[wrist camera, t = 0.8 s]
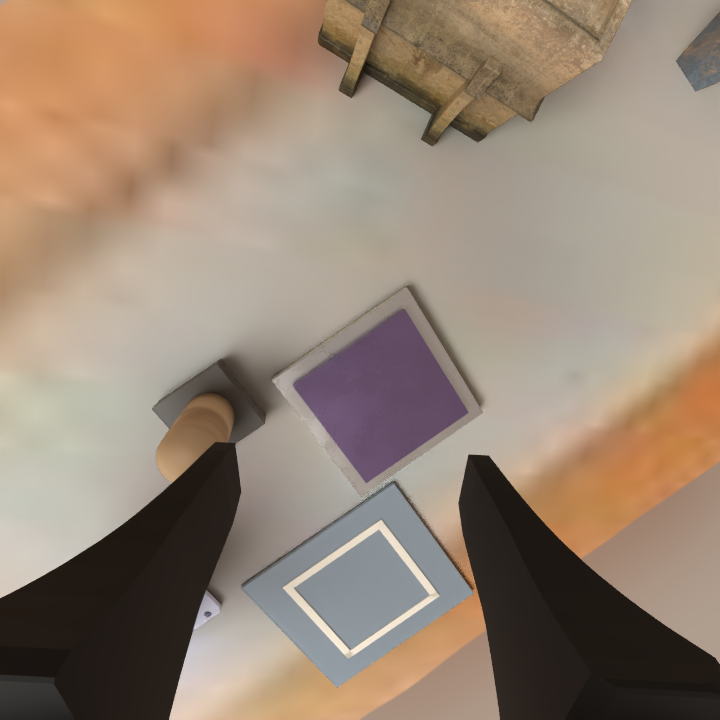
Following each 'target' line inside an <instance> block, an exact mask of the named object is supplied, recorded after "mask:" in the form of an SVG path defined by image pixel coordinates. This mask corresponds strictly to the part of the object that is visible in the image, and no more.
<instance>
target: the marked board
mask: <svg viewBox="0 0 720 720" xmlns="http://www.w3.org/2000/svg"><path fill="white" fill-rule="evenodd" d="M241 589H242V590H243V591H244V592H245V593H246V594H247V595H248V596H249V597H250V598H251V599H252V600H253V601H254V602H255V603H256V604H257V605H258V606H259V607H260V608H261V609H262V610H263V612H264V613H265V614H266V615H267V616H268V617H269V618H270V619H271V620H272V621H273V622H274V623H275V624H276V625H277V626H278V627H279V628H280V629H281V630H282V631H283V632H284V633H285V634H286V635H287V636H288V637H289V639H290V640H291V641H292V642H293V643H294V644H295V645H296V646H297V647H298V648H299V649H300V650H301V651H302V652H303V653H304V654H305V655H306V656H307V657H308V658H309V659H310V660H311V661H312V662H313V663H314V664H315V665H316V667H317V668H318V669H319V670H320V671H321V672H322V673H323V674H324V675H325V676H326V677H327V678H328V679H329V680H330V681H331V682H332V683H333V684H334V685H335V686H336V687H339V686H340V685H342V684H343V683H345V682H346V681H347V680H349V679H350V678H352V677H353V676H355V675H356V674H358V673H359V672H360V671H362V670H363V669H365V668H366V667H368V666H369V665H371V664H372V663H373V662H375V661H376V660H378V659H379V658H381V657H382V656H384V655H385V654H387V653H388V652H389V651H391V650H392V649H394V648H395V647H397V646H398V645H400V644H401V643H402V642H404V641H405V640H407V639H408V638H410V637H411V636H413V635H414V634H415V633H417V632H418V631H420V630H421V629H423V628H424V627H426V626H427V625H429V624H430V623H431V622H433V621H434V620H436V619H437V618H439V617H440V616H442V615H443V614H444V613H446V612H447V611H449V610H450V609H452V608H453V607H455V606H456V605H457V604H459V603H460V602H462V601H463V600H465V599H466V598H468V597H469V596H471V595H472V594H473V591H472V589H471V588H470V587H469V585H468V584H467V583H466V581H465V580H464V578H463V577H462V576H461V574H460V573H459V572H458V570H457V569H456V567H455V566H454V565H453V563H452V562H451V561H450V559H449V558H448V556H447V555H446V554H445V552H444V551H443V550H442V548H441V547H440V545H439V544H438V543H437V541H436V540H435V539H434V537H433V536H432V534H431V533H430V532H429V530H428V529H427V528H426V526H425V525H424V523H423V522H422V521H421V519H420V518H419V517H418V515H417V514H416V512H415V511H414V510H413V508H412V507H411V506H410V504H409V503H408V501H407V500H406V499H405V497H404V496H403V495H402V493H401V492H400V490H399V489H398V488H397V486H396V485H395V484H394V482H392V483H390V484H389V485H387V486H386V487H385V488H383V489H382V490H380V491H379V492H377V493H376V494H374V495H373V496H371V497H370V498H369V499H367V500H366V501H364V502H363V503H361V504H360V505H358V506H357V507H355V508H354V509H353V510H351V511H350V512H348V513H347V514H345V515H344V516H342V517H341V518H339V519H338V520H337V521H335V522H334V523H332V524H331V525H329V526H328V527H326V528H325V529H323V530H322V531H321V532H319V533H318V534H316V535H315V536H313V537H312V538H310V539H309V540H307V541H306V542H305V543H303V544H302V545H300V546H299V547H297V548H296V549H294V550H293V551H291V552H290V553H289V554H287V555H286V556H284V557H283V558H281V559H280V560H278V561H277V562H275V563H274V564H273V565H271V566H270V567H268V568H267V569H265V570H264V571H262V572H261V573H259V574H258V575H257V576H255V577H254V578H252V579H251V580H249V581H248V582H246V583H245V584H243V585H242V588H241Z"/></svg>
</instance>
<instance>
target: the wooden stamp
mask: <svg viewBox="0 0 720 720" xmlns="http://www.w3.org/2000/svg"><path fill="white" fill-rule="evenodd" d="M152 410H153V411H154V412H155V413H156V414H157V416H158V417H159V418H160V419H161V420H162V421H163V422H164V423H165V424H166V426H167V427H168V428H169V429H170V430H169V431H168V433H167V434H166V435H165V437H164V438H163V440H162V441H161V443H160V444H159V446H158V448H157V452H156V463H157V466H158V469H159V470H160V472H161V473H162V475H163V476H164V477H165V478H166V479H168V480H169V481H171V482H174V481H175V480H176V479H177V478H178V477H179V476H180V475H181V474H182V473H183V472H184V471H186V470H187V469H188V468H189V467H190V466H191V465H192V464H193V463H194V462H195V461H196V460H197V459H198V458H199V457H200V456H201V455H202V454H203V453H204V452H205V451H206V450H207V449H208V448H209V447H210V446H211V445H212V444H214V443H215V442H226V443H235V444H236V443H237V442H239V441H240V440H241V439H243V438H244V437H246V436H247V435H249V434H250V433H252V432H253V431H255V430H256V429H258V428H259V427H260V426H262V425H263V424H265V417H266V416H265V414H264V413H263V412H262V411H261V409H260V408H259V407H258V406H257V404H256V403H255V402H254V401H253V399H252V398H251V397H250V396H249V394H248V393H247V392H246V391H245V389H244V388H243V387H242V386H241V384H240V383H239V382H238V381H237V379H236V378H235V377H234V376H233V374H232V373H231V372H230V370H229V369H228V368H227V367H226V365H225V364H224V363H223V362H222V360H221V359H220V360H219V361H217V362H216V363H214V364H213V365H211V366H210V367H208V368H207V369H205V370H204V371H203V372H201V373H200V374H198V375H197V376H195V377H194V378H192V379H191V380H189V381H188V382H186V383H185V384H183V385H182V386H181V387H179V388H178V389H176V390H175V391H173V392H172V393H170V394H169V395H167V396H166V397H164V398H163V399H162V400H160V401H159V402H158V403H157V404H156V405H155V406H154V407H153V408H152Z"/></svg>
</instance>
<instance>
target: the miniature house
mask: <svg viewBox="0 0 720 720" xmlns="http://www.w3.org/2000/svg"><path fill="white" fill-rule="evenodd" d="M631 2H632V0H327V1H326V8H325V15H324V22H323V24H322V27H321V29H320V32H319V37H318V43H319V44H320V45H321V46H322V47H324V48H326V49H327V50H329V51H331V52H332V53H334V54H335V55H337V56H339V57H340V58H342V59H344V60H345V61H347V62H348V63H349V65H348V67H347V69H346V72H345V74H344V77H343V79H342V82H341V84H340V88H339V91H341V92H342V93H344V94H346V95H347V96H349V97H351V98H352V95H353V93H354V91H355V89H356V87H357V84H358V82H359V80H360V78H361V76H362V73H363V72H365V73H366V74H368V75H369V76H371V77H373V78H374V79H376V80H378V81H379V82H381V83H382V84H384V85H386V86H387V87H389V88H390V89H392V90H394V91H395V92H397V93H399V94H400V95H402V96H403V97H405V98H407V99H408V100H410V101H412V102H413V103H415V104H416V105H418V106H420V107H421V108H423V109H425V110H426V111H428V112H429V113H431V114H432V115H431V118H430V120H429V122H428V124H427V127H426V129H425V131H424V134H423V136H422V138H421V140H423V141H424V142H426V143H428V144H429V145H431V146H433V145H434V144H436V143H437V141H438V139H439V137H440V135H441V134H442V132H443V131H444V130H445V129H446V127H447V126H448V125H450V126H452V127H454V128H455V129H457V130H459V131H460V132H462V133H463V134H465V135H467V136H468V137H470V138H471V139H473V140H475V141H477V142H479V141H481V140H482V139H484V138H485V137H486V135H487V133H488V132H490V131H492V130H493V129H495V128H496V127H498V126H499V125H501V124H503V123H504V122H506V121H507V120H509V119H510V118H512V117H513V116H515V115H517V114H519V115H520V116H522V117H523V118H525V119H527V120H528V121H530V122H531V121H533V119H534V117H535V115H536V113H537V111H538V109H539V107H540V105H541V103H542V101H543V99H544V97H545V96H546V95H548V94H549V93H551V92H553V91H554V90H556V89H557V88H559V87H560V86H562V85H563V84H565V83H567V82H568V81H570V80H571V79H573V78H574V77H576V76H578V75H579V74H581V73H582V72H584V71H585V70H587V69H588V68H590V67H592V66H593V65H595V64H596V63H598V62H599V61H601V60H602V59H603V57H604V55H605V53H606V51H607V49H608V47H609V45H610V43H611V41H612V39H613V37H614V35H615V33H616V31H617V29H618V27H619V25H620V23H621V21H622V19H623V18H624V16H625V14H626V12H627V10H628V8H629V6H630V4H631Z"/></svg>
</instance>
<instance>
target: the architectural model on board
mask: <svg viewBox="0 0 720 720" xmlns="http://www.w3.org/2000/svg"><path fill="white" fill-rule="evenodd" d="M676 62H677V64H678V65H679V67H680V68H681V70H682V71H683V73H684V75H685V76H686V78H687V79H688V81H689V82H690V84H691V85H692V87H693V88H694V90H695V91H698V90H700V89H703V88H705V87H708V86H710V85H713V84H715V83H717V82H720V12H719V13H718V14H717V16H716V17H715V18H714V19H713V20H712V21H711V22H710V23H709V24H708V26H707V27H706V28H705V29H704V30H703V31H702V32H701V33H700V34H699V36H698V37H697V38H696V39H695V40H694V41H693V42H692V43H691V44H690V46H689V47H688V48H687V49H686V50H685V51H684V52H683V53H682V55H681V56H680V57H679V58H678V59H677V60H676Z"/></svg>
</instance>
